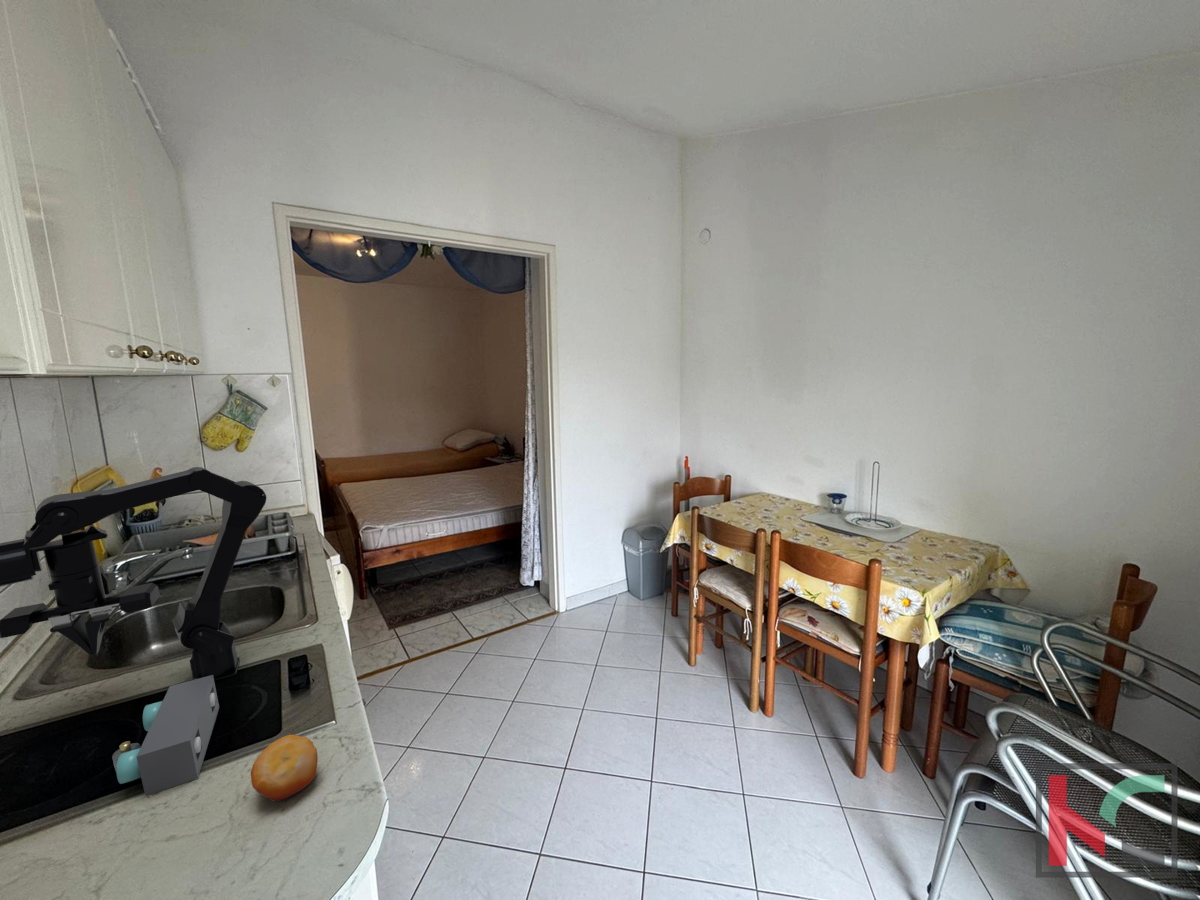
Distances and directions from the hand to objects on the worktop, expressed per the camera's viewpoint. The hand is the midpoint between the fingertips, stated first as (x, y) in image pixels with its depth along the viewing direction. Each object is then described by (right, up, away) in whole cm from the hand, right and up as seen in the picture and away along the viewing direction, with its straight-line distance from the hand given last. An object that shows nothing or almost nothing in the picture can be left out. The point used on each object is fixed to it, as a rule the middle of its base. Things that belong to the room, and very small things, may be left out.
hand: (94, 653), depth 87 cm
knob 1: (+17, -10, -2) cm, 20 cm away
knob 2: (+23, -12, -12) cm, 28 cm away
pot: (+15, -14, -9) cm, 22 cm away
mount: (+21, -13, -6) cm, 25 cm away
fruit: (+43, -14, -14) cm, 47 cm away
